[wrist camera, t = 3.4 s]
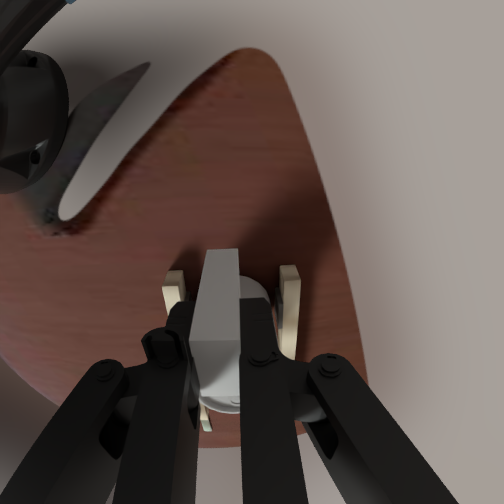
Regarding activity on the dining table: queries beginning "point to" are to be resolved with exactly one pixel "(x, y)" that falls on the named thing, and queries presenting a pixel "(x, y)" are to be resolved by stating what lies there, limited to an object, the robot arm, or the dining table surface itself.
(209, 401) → the can
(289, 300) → the chute
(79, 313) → the dining table surface
